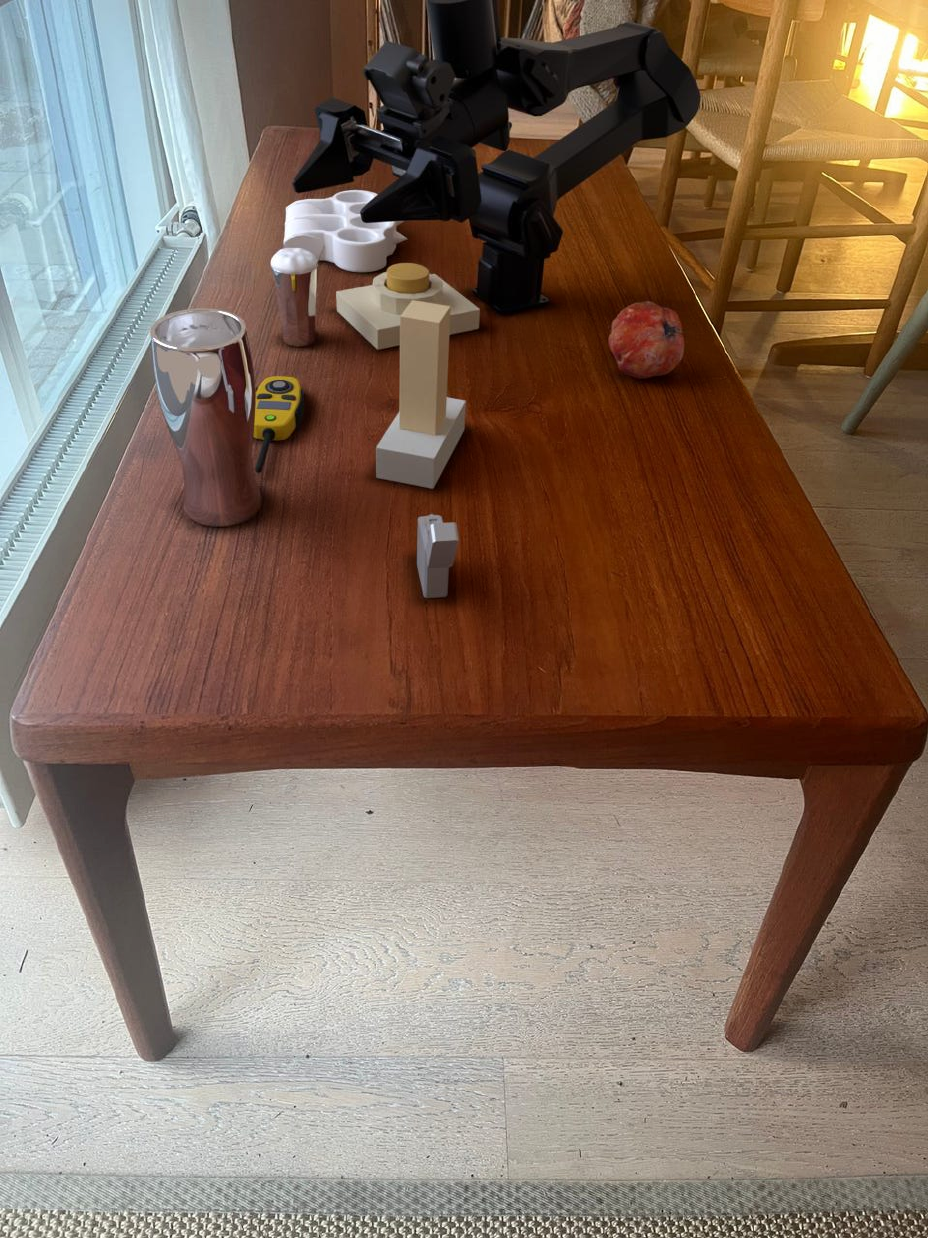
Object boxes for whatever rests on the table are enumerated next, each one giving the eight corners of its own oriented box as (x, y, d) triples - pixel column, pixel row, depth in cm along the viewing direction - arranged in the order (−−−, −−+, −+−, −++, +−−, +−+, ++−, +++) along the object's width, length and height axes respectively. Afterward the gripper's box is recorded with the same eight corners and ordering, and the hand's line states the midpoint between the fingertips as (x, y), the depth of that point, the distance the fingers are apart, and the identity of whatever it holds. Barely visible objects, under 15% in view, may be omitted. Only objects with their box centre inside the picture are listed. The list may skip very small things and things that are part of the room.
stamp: (464, 429, 88) (472, 291, 80) (433, 489, 81) (438, 343, 72) (411, 420, 89) (414, 281, 80) (376, 477, 82) (374, 332, 73)
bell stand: (434, 292, 110) (435, 257, 108) (479, 328, 104) (481, 292, 101) (336, 310, 105) (335, 274, 103) (377, 349, 99) (377, 312, 96)
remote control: (308, 373, 91) (286, 460, 80) (309, 392, 92) (288, 480, 81) (256, 371, 91) (226, 458, 79) (258, 390, 92) (229, 478, 81)
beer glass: (282, 491, 80) (266, 317, 70) (240, 539, 75) (217, 359, 65) (207, 473, 81) (181, 299, 71) (161, 518, 76) (126, 338, 66)
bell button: (416, 276, 104) (416, 259, 103) (436, 291, 102) (436, 275, 101) (379, 282, 103) (379, 266, 102) (398, 299, 100) (398, 282, 99)
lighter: (416, 562, 74) (418, 473, 68) (439, 561, 74) (442, 472, 69) (430, 625, 68) (433, 534, 63) (454, 623, 69) (459, 532, 63)
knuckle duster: (287, 215, 125) (401, 216, 127) (284, 272, 112) (411, 272, 114) (285, 188, 123) (401, 190, 125) (281, 243, 110) (411, 244, 112)
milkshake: (321, 353, 98) (316, 254, 91) (270, 346, 98) (261, 247, 92) (334, 334, 101) (331, 237, 95) (285, 327, 102) (278, 230, 95)
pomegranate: (590, 387, 100) (638, 369, 91) (586, 314, 100) (634, 288, 90) (653, 387, 102) (707, 369, 93) (650, 316, 102) (704, 291, 92)
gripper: (366, 8, 89) (233, 82, 83) (517, 50, 80) (379, 137, 74) (390, 130, 98) (271, 204, 92) (528, 180, 88) (406, 266, 83)
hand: (327, 201), depth 85 cm, fingers open, 9 cm apart
